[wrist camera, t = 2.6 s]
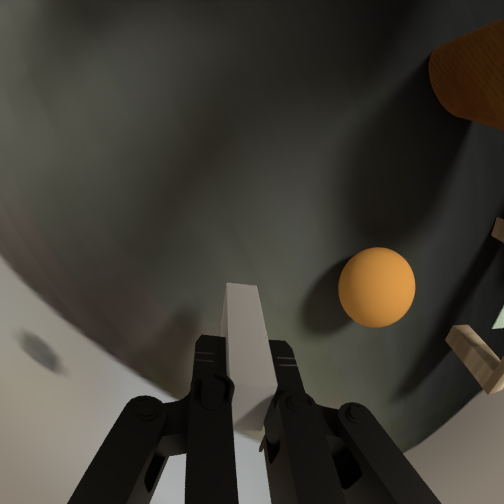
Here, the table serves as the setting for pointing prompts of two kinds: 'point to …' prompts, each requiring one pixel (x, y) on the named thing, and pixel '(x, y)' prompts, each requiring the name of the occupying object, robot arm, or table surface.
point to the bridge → (479, 345)
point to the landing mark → (499, 320)
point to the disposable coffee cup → (472, 75)
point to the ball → (376, 287)
